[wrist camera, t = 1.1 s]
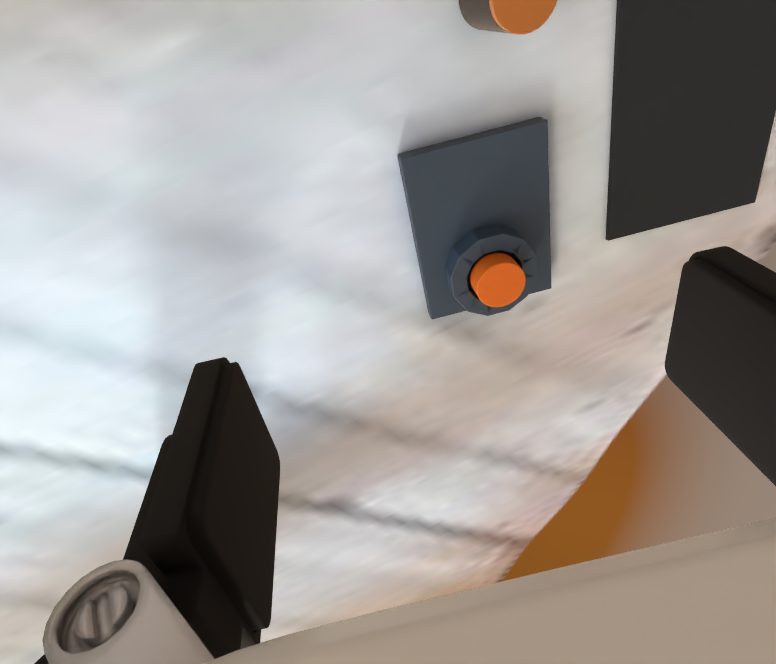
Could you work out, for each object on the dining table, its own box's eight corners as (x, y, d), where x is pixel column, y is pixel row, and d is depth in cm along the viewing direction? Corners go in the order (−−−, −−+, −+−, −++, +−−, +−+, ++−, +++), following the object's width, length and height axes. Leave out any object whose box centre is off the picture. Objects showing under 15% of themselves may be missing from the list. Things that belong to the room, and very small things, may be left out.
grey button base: (397, 154, 33) (404, 166, 31) (540, 116, 33) (559, 125, 31) (428, 312, 40) (436, 332, 38) (545, 281, 40) (561, 299, 38)
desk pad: (620, -82, 28) (624, -83, 27) (825, -136, 28) (832, -138, 27) (605, 238, 39) (608, 240, 39) (751, 200, 39) (755, 202, 39)
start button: (467, 259, 35) (474, 270, 34) (515, 246, 35) (524, 256, 34) (472, 301, 37) (479, 313, 36) (518, 289, 37) (527, 300, 36)
